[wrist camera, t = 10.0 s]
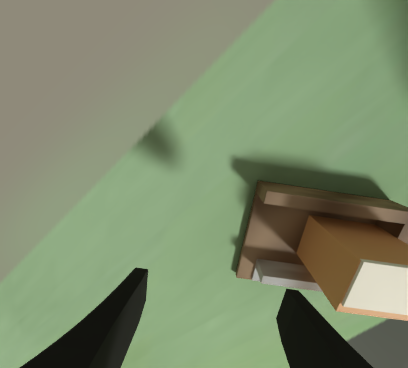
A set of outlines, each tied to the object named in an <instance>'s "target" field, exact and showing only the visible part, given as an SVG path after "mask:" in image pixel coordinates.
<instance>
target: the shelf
mask: <svg viewBox="0 0 408 368" xmlns="http://www.w3.org/2000/svg"><path fill="white" fill-rule="evenodd" d="M309 215H313V216H319V217H326V218H333V219H340V220H347V221H354V222H361V223H368V224H374V225H376V226H378V227H380V228H381V229H383V230H385V231H386V232H388V233H390V234H391V235H393V236H395V237H396V238H398V239H400V240H401V241H403V242H405V243H406V244H408V207H405V206H403V205H401V204H398V203H396V202H393V201H391V200H385V199H378V198H372V197H365V196H358V195H351V194H345V193H338V192H331V191H325V190H318V189H311V188H305V187H298V186H291V185H284V184H278V183H271V182H264V181H258V182H257V187H256V191H255V195H254V199H253V203H252V207H251V212H250V216H249V220H248V224H247V228H246V232H245V237H244V241H243V245H242V249H241V253H240V258H239V262H238V266H237V270H236V277H237V278H244V279H251V280H253V281H260V282H261V283H263V284H270V285H278V286H285V287H292V288H300V289H307V290H314V291H321V292H323V291H322V290H321V288H320V287H319V285H318V284H317V282H316V281H315V280H314V278H313V277H312V275H311V274H310V272H309V271H308V269H307V268H306V266H305V265H304V263H303V262H302V261H301V259H300V258H299V256H298V255H297V253H296V252H297V250H298V247H299V244H300V241H301V238H302V235H303V232H304V229H305V226H306V223H307V220H308V217H309Z"/></svg>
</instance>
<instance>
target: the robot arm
mask: <svg viewBox="0 0 408 368" xmlns="http://www.w3.org/2000/svg"><path fill="white" fill-rule="evenodd" d="M147 277H148V269H142V268H135V269H134V270H133V271H132V272H131V273H130V274H129V275H128V276H127V277H126V279H125V280H124V281H123V282H122V283H121V284H120V285H119V286H118V287H117V288H116V289H115V290H114V291H113V292H112V293H111V294H110V295H109V296H108V297H107V298H106V299H105V300H104V301H103V302H102V303H101V304H99V305H98V306H97V307H96V308H95V309H94V310H93V311H92V312H91V313H89V314H88V315H87V316H86V317H85V318H84V319H83V320H82V321H80V322H79V323H78V324H77V325H76V326H74V327H73V328H72V329H71V330H70V331H68V332H67V333H66V334H64V335H63V336H62V337H61V338H59V339H58V340H57V341H56V342H54V343H53V344H52V345H50V346H49V347H48V348H46V349H45V350H44V351H42V352H41V353H40V354H38V355H37V356H35V357H34V358H33V359H31V360H30V361H28V362H27V363H26V364H24V365H23V366H21V367H20V368H120V367H121V365H122V363H123V360H124V358H125V355H126V353H127V350H128V348H129V346H130V343H131V341H132V338H133V336H134V333H135V331H136V329H137V326H138V324H139V321H140V317H141V314H142V311H143V308H144V304H145V301H146V290H147ZM276 319H277V324H278V329H279V333H280V337H281V342H282V345H283V348H284V351H285V354H286V357H287V360H288V363H289V366H290V368H373V367H372V366H371V365H370V364H369V363H368V362H367V361H366V360H365V359H364V358H363V357H362V356H361V355H360V354H359V353H357V352H356V351H355V350H354V349H353V348H352V347H351V346H350V345H349V344H348V343H347V342H346V341H345V340H344V339H343V338H342V337H341V335H340V334H339V333H338V332H337V331H336V330H335V329H334V328H333V327H332V326H331V325H330V324H329V323H328V322H327V321H326V320H325V319H324V318H323V316H322V315H321V314H320V313H319V312H318V311H317V310H316V309H315V308H314V307H313V306H312V305H311V303H310V302H309V301H308V300H307V299H306V298H305V297H304V296H303V295H302V294H301V293H300V292H299V291H298V290H291V289H286V292H285V295H284V297H283V300H282V303H281V306H280V309H279V312H278V315H277V318H276Z"/></svg>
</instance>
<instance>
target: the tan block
mask: <svg viewBox="0 0 408 368" xmlns="http://www.w3.org/2000/svg"><path fill="white" fill-rule="evenodd" d="M296 253H297V255H298V256H299V258H300V259H301V261H302V262H303V263H304V265H305V266H306V268H307V269H308V271H309V272H310V274H311V275H312V277H313V278H314V280H315V281H316V282H317V284H318V285H319V287H320V288H321V290H322V291H323V293H324V294H325V296H326V297H327V299H328V300H329V301H330V303H331V304H332V306H333V307H334V309H335V310H336V311H338V312H346V313H353V314H361V315H368V316H376V317H383V318H390V319H398V320H405V321H408V244H406V243H405V242H403V241H401V240H400V239H398V238H396V237H395V236H393V235H391V234H390V233H388V232H386V231H385V230H383V229H381V228H380V227H378V226H376V225H374V224H368V223H361V222H354V221H347V220H340V219H333V218H326V217H319V216H313V215H309V217H308V220H307V223H306V226H305V229H304V232H303V235H302V238H301V241H300V244H299V247H298V250H297V252H296Z"/></svg>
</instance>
